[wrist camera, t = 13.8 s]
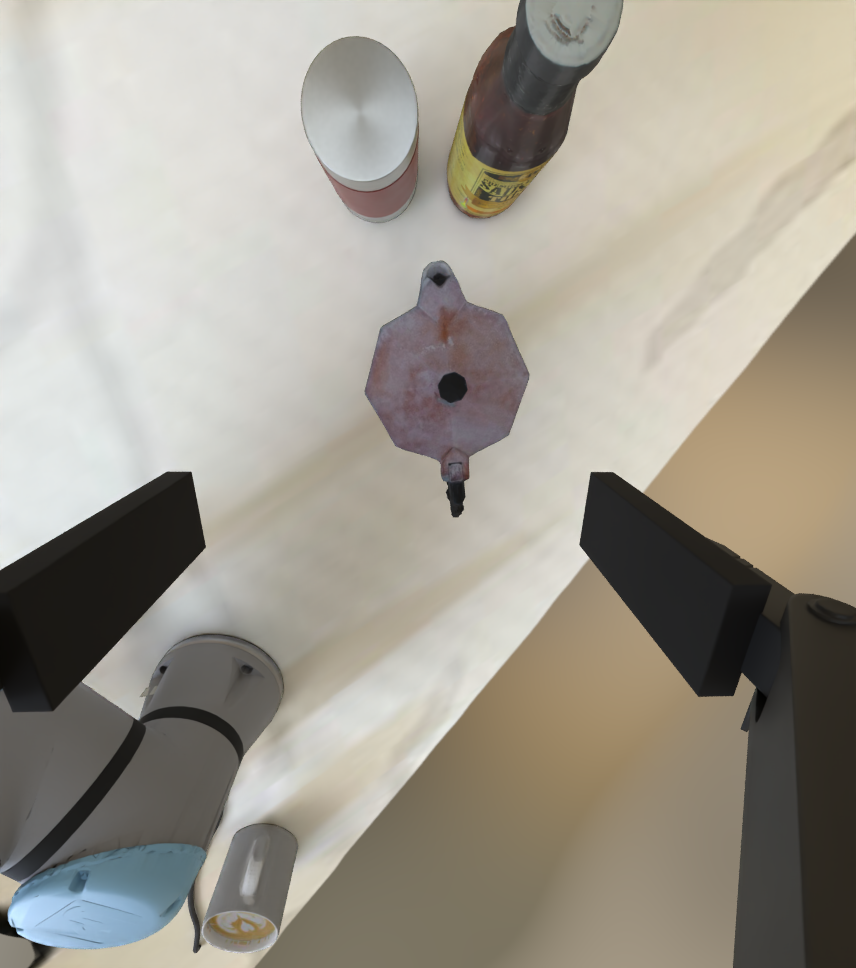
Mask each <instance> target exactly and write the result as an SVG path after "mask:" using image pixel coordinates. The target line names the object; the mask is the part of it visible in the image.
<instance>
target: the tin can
mask: <svg viewBox="0 0 856 968" xmlns="http://www.w3.org/2000/svg"><path fill="white" fill-rule="evenodd" d="M301 114H302V121H303V126H304V130H305V133H306V136H307V138H308V141H309V143H310V145H311V147H312V149H313V151H314V153H315V155H316V157H317V159H318V161H319V163H320V164H321V166H322V168H323V169H324V171H325V173H326V175H327V176H328V178H329V180H330V182H331V183H332V185H333V187H334V188H335V190H336V192H337V194H338V195H339V197H340V198H341V199H342V201H343V203H344V204H345V205H346V207H347V208H348V209H349V210H350V211H351V212H352V213H353V214H355V215H356V216H357V217H359V218H361V219H363V220H365V221H369V222H375V223H381V222H387V221H390V220H392V219H394V218H396V217H397V216H399V215H400V214H401V213H402V212H403V211H404V210H405V209H406V208H407V207H408V205H409V203H410V202H411V200H412V198H413V195H414V192H415V189H416V183H417V172H418V140H419V124H418V103H417V96H416V92H415V89H414V85H413V83H412V80H411V77H410V75H409V74H408V72H407V70H406V68H405V67H404V65H403V64H402V62H401V61H400V60H399V58H398V57H397V56H396V55H395V54H394V53H393V52H392V51H391V50H390V49H388V48H387V47H386V46H384V45H383V44H381V43H379V42H377V41H375V40H373V39H369V38H366V37H359V36H353V37H346V38H341V39H339V40H336V41H334V42H332V43H331V44H329V45H328V46H326V47H325V48H324V49H323V50H322V51H321V52H320V53H319V54H318V55H317V56H316V57H315V59H314V60H313V62H312V64H311V65H310V67H309V69H308V71H307V74H306V77H305V80H304V83H303V88H302V94H301Z"/></svg>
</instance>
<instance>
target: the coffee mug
mask: <svg viewBox="0 0 856 968" xmlns="http://www.w3.org/2000/svg"><path fill="white" fill-rule="evenodd" d="M297 849H298V844H297V840H296V838H295V837H294V836H293V835H292V834H291V833H290V832H288V831H287V830H285V829H283V828H281V827H278V826H275V825H269V824H256V825H250V826H247V827H245V828H243V829H241V830H239V831H238V832H237V833H236V834H235V835H234V837H233V839H232V842H231V845H230V848H229V850H228V853H227V856H226V859H225V862H224V865H223V867H222V870H221V873H220V876H219V879H218V882H217V884H216V887H215V890H214V893H213V896H212V899H211V901H210V904H209V907H208V910H207V913H206V916H205V918H204V921H203V925H202V930H201V931H202V935H203V937H204V939H205V940H206V941H207V942H208V943H209V944H211V945H212V946H214V947H216V948H218V949H221V950H224V951H228V952H234V953H252V952H257V951H260V950H263V949H266V948H268V947H269V946H271V945H272V944H273V943H274V942H275V941H276V940H277V937H278V935H279V930H280V926H281V921H282V917H283V912H284V908H285V903H286V899H287V894H288V890H289V885H290V881H291V876H292V872H293V867H294V863H295V858H296V854H297Z"/></svg>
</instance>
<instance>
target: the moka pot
mask: <svg viewBox="0 0 856 968" xmlns="http://www.w3.org/2000/svg"><path fill="white" fill-rule="evenodd" d="M528 380H529V372H528V370H527V367H526V365H525V363H524V360H523V358H522V356H521V354H520V352H519V350H518V348H517V345H516V343H515V341H514V338H513V336H512V334H511V331H510V329H509V326H508V323H507V321H506V319H505V318H504V316H503V315H502V314H500V313H497V312H494V311H492V310H489V309H485V308H482V307H479V306H476V305H473V304H471V303H469V302H467V301H466V299H465V297H464V295H463V293H462V291H461V288H460V285H459V283H458V281H457V279H456V277H455V275H454V273H453V271H452V269H451V268H450V266H449V265H448V264H447V263H445V262H444V261H436V262H431V263H430V264H428V265H427V266H426V268H425V269H424V270H423V273H422V278H421V287H420V293H419V298H418V302H417V306H416V307H414V308H413V309H411V310H409V311H408V312H406V313H405V314H403V315H401V316H399V317H398V318H396V319H394V320H392V321H390V322H389V323H387V324H385V325H383V326H382V327H381V329H380V332H379V336H378V340H377V344H376V348H375V352H374V356H373V360H372V364H371V368H370V372H369V376H368V380H367V384H366V388H365V395H366V396H367V398H368V400H369V401H370V403H371V405H372V406H373V408H374V410H375V411H376V413H377V415H378V416H379V418H380V420H381V421H382V423H383V425H384V427H385V428H386V430H387V432H388V434H389V436H390V437H391V439H392V441H393V443H394V444H395V446H396V447H398V448H401V449H403V450H406V451H410V452H414V453H417V454H421V455H424V456H428V457H431V458H433V459H436V460H438V461H439V462H440V464H441V476H442V479H443V481H446V482H447V485H448V489H447V491H446V494H447V498H448V499H449V501H450V506H451V508H450V509H451V512H452V516H453V517H459V515H461V514H462V511H463V510H464V506H463V501H464V499H465V487H464V481H465V480H467V479H469V457H470V456H472V455H473V454H475V453H477V452H478V451H480V450H482V449H484V448H486V447H488V446H490V445H492V444H494V443H496V442H498V441H500V440H502V439H503V438H505V437H506V436H508V435H509V433H510V430H511V428H512V425H513V422H514V419H515V416H516V413H517V410H518V408H519V405H520V402H521V399H522V397H523V394H524V391H525V389H526V386H527V383H528Z"/></svg>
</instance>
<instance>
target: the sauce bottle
mask: <svg viewBox="0 0 856 968" xmlns="http://www.w3.org/2000/svg"><path fill="white" fill-rule="evenodd" d="M622 9H623V0H520V3H519V7H518V11H517V18H516V26H514V27H510V28H508V29H507V30H505V31H503V32H501V33H500V34H499V35H498V36H497V37H496V38H495V40H494V41H493V42H492V44H491V45H490V46H489V47H488V48H487V50H486V52H485V53H484V54H483V56H482V58H481V60H480V61H479V63H478V66H477V68H476V70H475V73H474V76H473V80H472V82H471V84H470V87H469V89H468V92H467V95H466V98H465V101H464V105H463V108H462V112H461V116H460V119H459V123H458V126H457V130H456V133H455V137H454V140H453V144H452V147H451V151H450V154H449V159H448V166H447V181H448V188H449V193H450V196H451V199H452V200H453V202H454V204H455V205H456V206H457V207H458V208H459V210H461V211H462V212H463V213H465V214H467V215H468V216H470V217H473V218H490V217H491V216H494V215H497V214H499V213H501V212H503V211H504V210H506V209H507V208H508V207H509V206H510V205H511V204H512V203H513V202H514V201H515V200H516V199H517V197H518V196H519V195H520V194H521V193H522V192H523V190H524V189H525V188H526V187H527V186H528V185H529V184H530V182H531V181H532V180H533V179H534V178H535V177H536V175H537V174H538V173H539V172H540V171H541V169H542V168H543V167H544V166H545V165H546V164H547V163H548V161H549V160H550V159H551V158H552V157H553V156H554V154H555V153H556V152H557V151H558V149H559V148H560V146H561V145H562V143H563V141H564V139H565V137H566V134H567V130H568V125H569V121H570V116H571V111H572V107H573V102H574V97H575V92H576V88H577V85H578V83H579V81H580V80H581V79H582V78H584V77H585V76H586V75H588V74H589V73H590V72H591V71H592V70H593V69H594V68H595V66H596V65H597V64H598V63H599V61H600V59H601V58H602V56H603V54H604V53H605V52H606V50H607V48H608V47H609V45H610V43H611V42H612V40H613V38H614V36H615V34H616V33H617V30H618V27H619V23H620V19H621V14H622Z"/></svg>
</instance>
